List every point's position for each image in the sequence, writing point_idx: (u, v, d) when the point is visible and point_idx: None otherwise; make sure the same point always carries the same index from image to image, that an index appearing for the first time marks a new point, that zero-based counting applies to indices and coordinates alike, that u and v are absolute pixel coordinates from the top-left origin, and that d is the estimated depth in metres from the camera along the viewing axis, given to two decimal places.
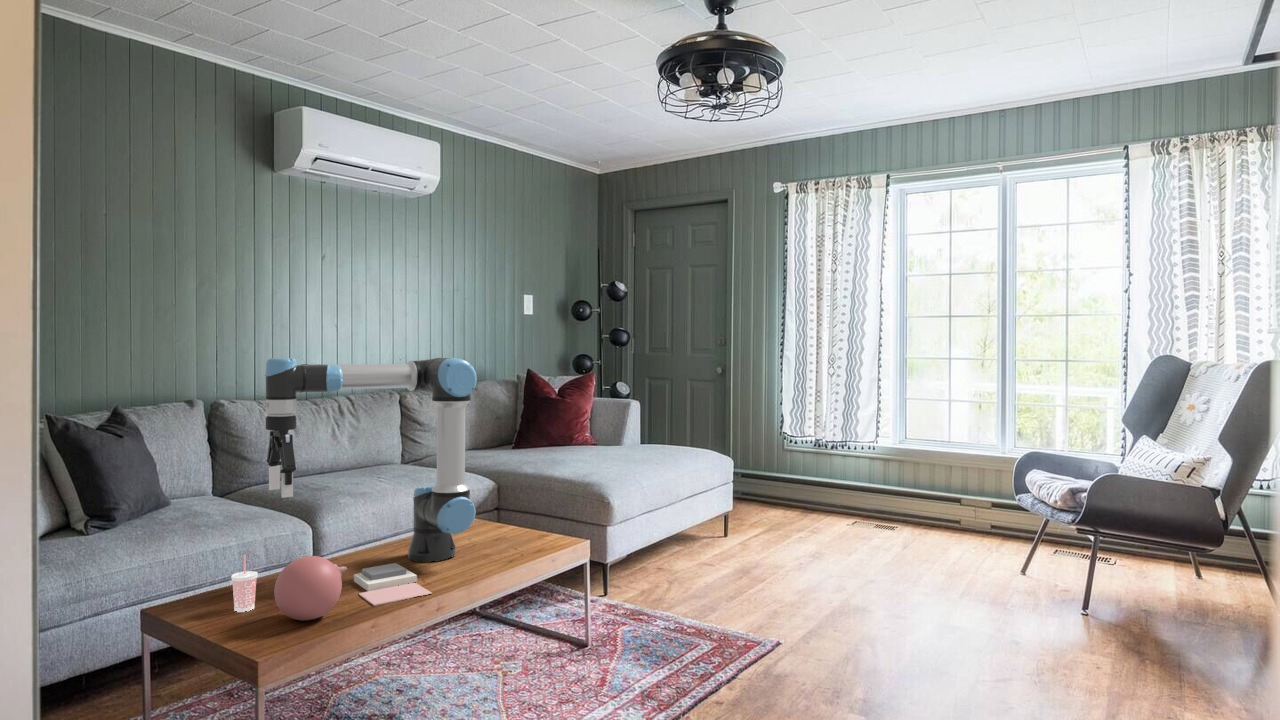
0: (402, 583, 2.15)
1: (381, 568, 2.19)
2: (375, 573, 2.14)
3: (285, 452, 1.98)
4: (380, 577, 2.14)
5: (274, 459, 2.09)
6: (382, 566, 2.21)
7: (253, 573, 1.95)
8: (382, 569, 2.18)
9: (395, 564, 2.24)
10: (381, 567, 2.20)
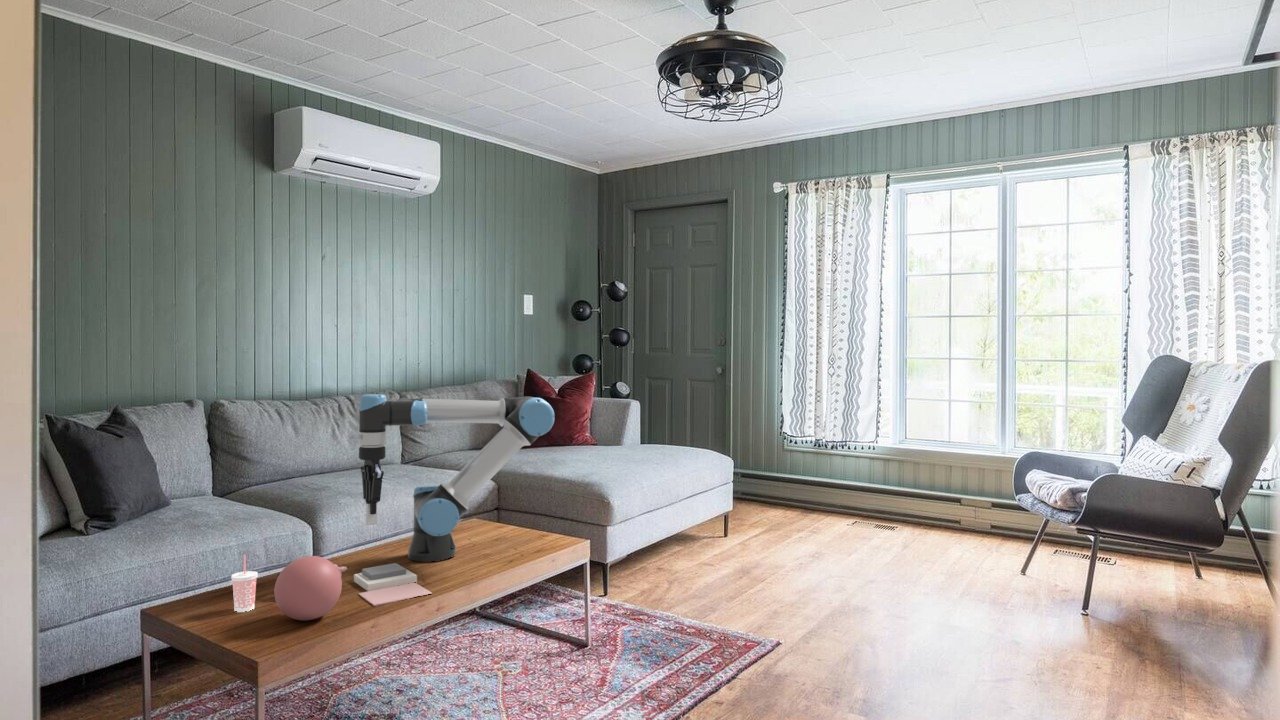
0: (402, 583, 2.15)
1: (381, 568, 2.19)
2: (375, 573, 2.14)
3: (374, 487, 2.22)
4: (380, 577, 2.14)
5: None
6: (382, 566, 2.21)
7: (253, 573, 1.95)
8: (382, 569, 2.18)
9: (395, 564, 2.24)
10: (381, 567, 2.20)
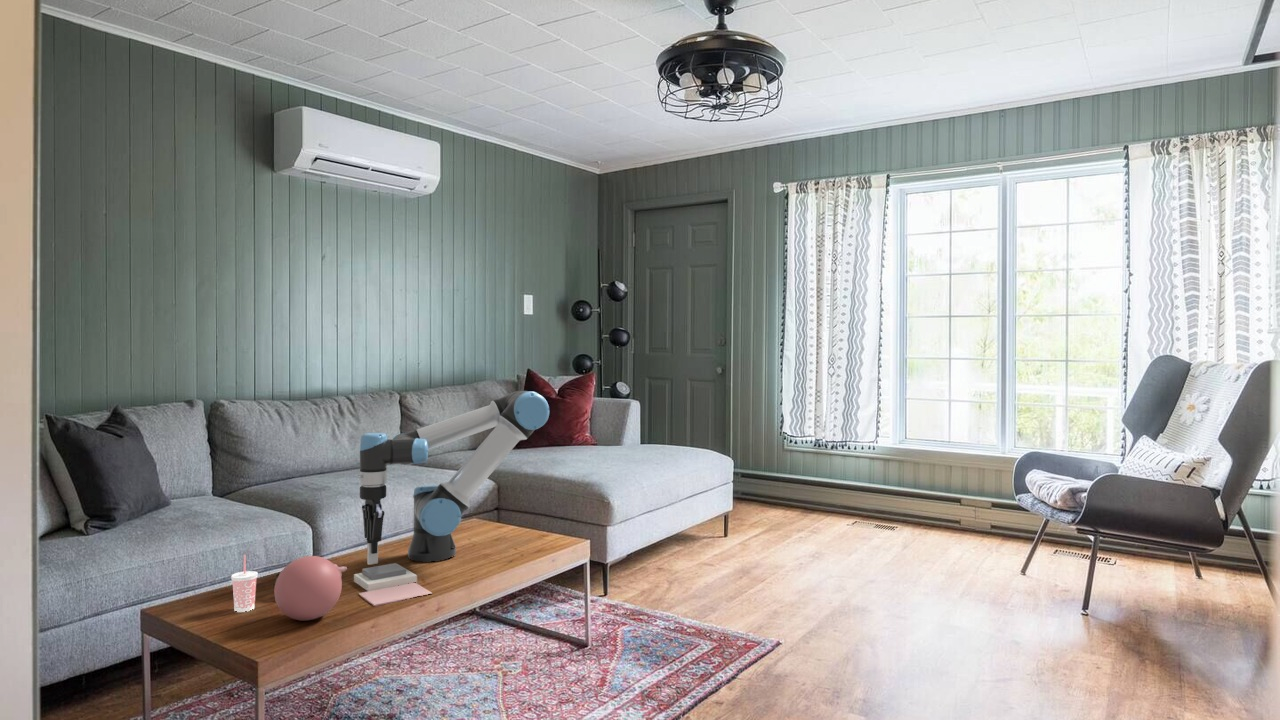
0: (402, 583, 2.15)
1: (381, 568, 2.19)
2: (375, 573, 2.14)
3: (375, 527, 2.22)
4: (380, 577, 2.14)
5: None
6: (382, 566, 2.21)
7: (253, 573, 1.95)
8: (382, 569, 2.18)
9: (395, 564, 2.24)
10: (381, 567, 2.20)
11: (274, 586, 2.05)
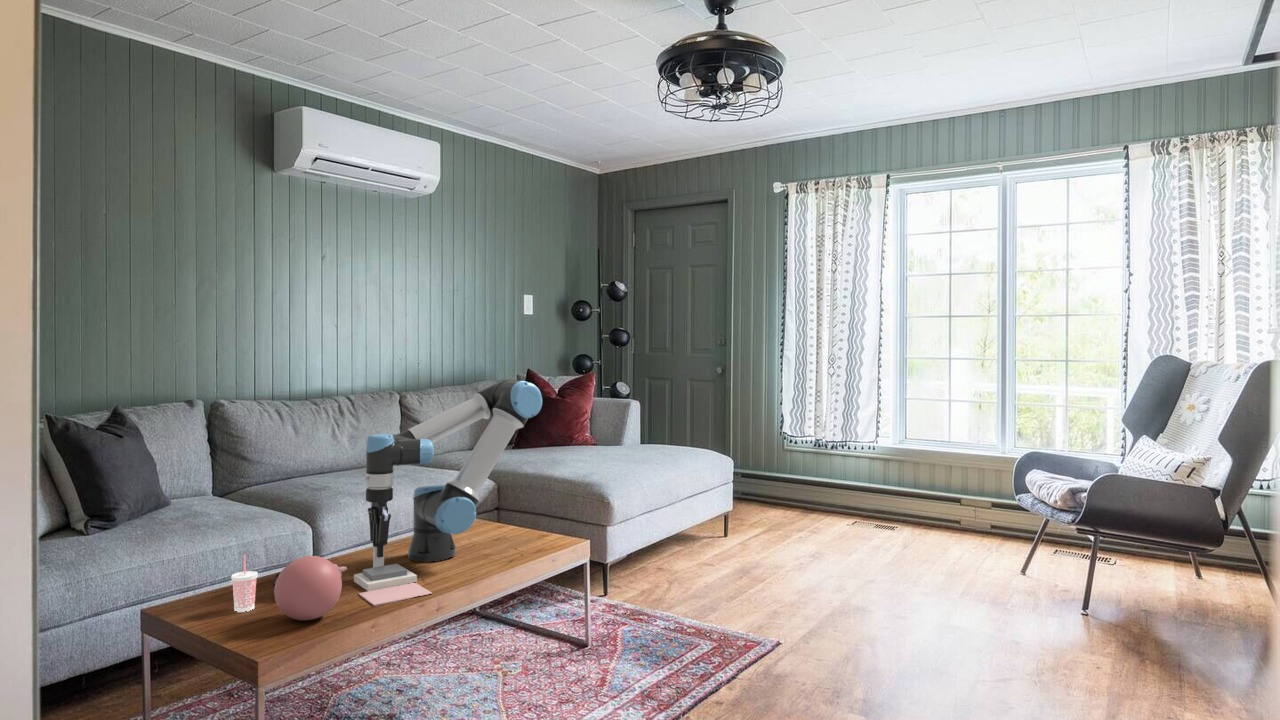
0: (402, 583, 2.15)
1: (382, 569, 2.18)
2: (376, 574, 2.13)
3: (381, 530, 2.17)
4: (380, 578, 2.13)
5: None
6: (383, 567, 2.21)
7: (253, 573, 1.95)
8: (382, 570, 2.17)
9: (396, 565, 2.23)
10: (382, 568, 2.19)
11: None
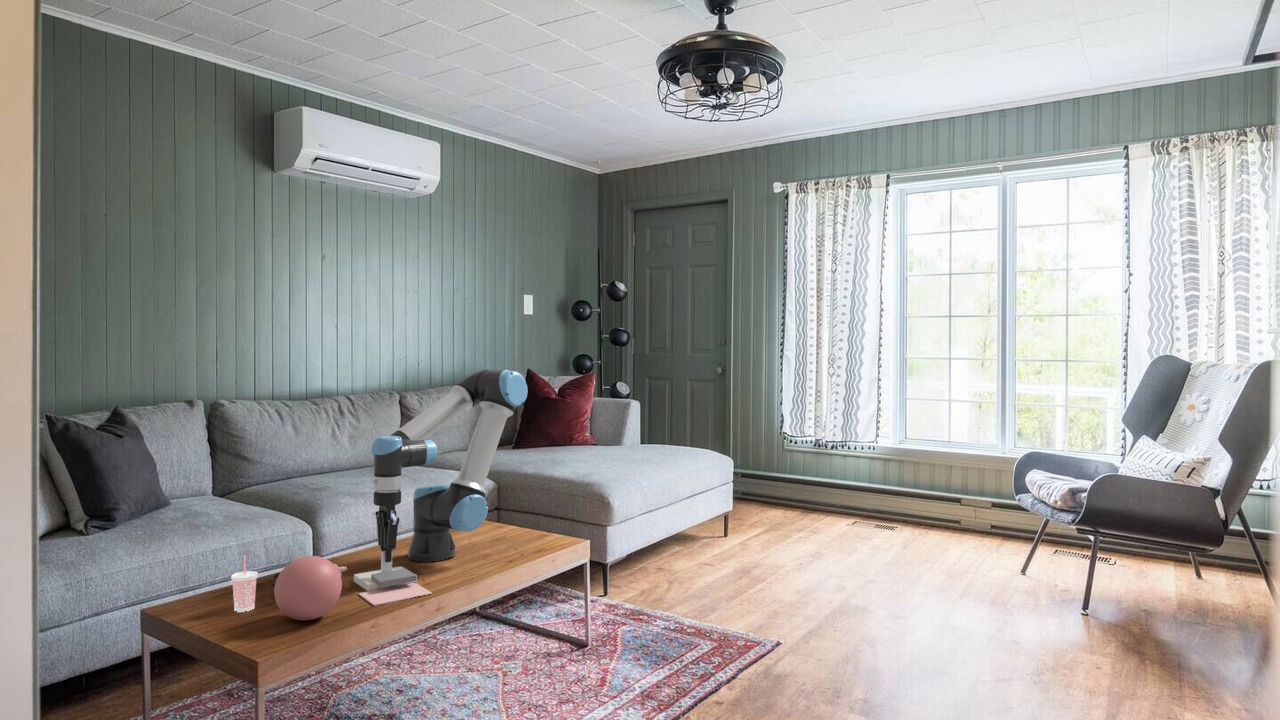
0: (402, 583, 2.15)
1: (391, 574, 2.13)
2: (384, 580, 2.08)
3: (389, 534, 2.12)
4: (389, 584, 2.08)
5: None
6: (392, 572, 2.16)
7: (253, 573, 1.95)
8: (391, 575, 2.12)
9: (405, 570, 2.18)
10: (390, 573, 2.14)
11: (271, 587, 2.04)
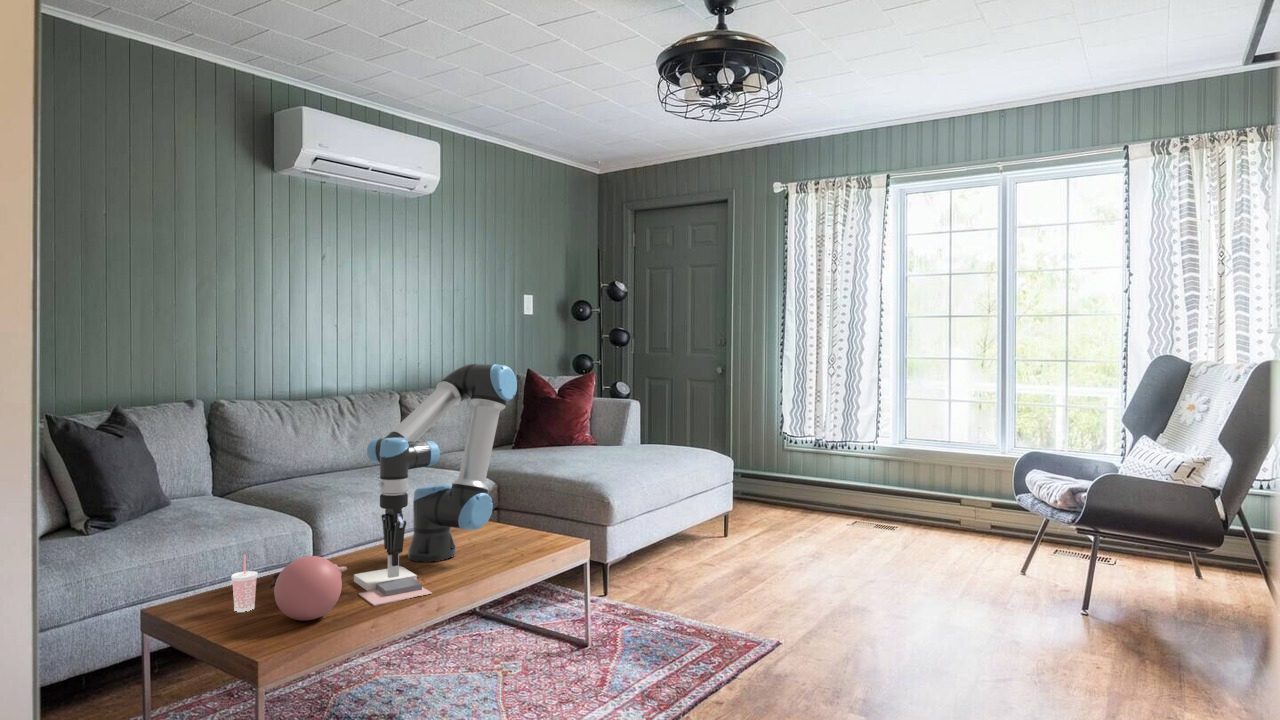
0: None
1: (396, 583, 2.10)
2: (390, 589, 2.05)
3: (396, 538, 2.09)
4: (395, 593, 2.05)
5: None
6: (397, 581, 2.13)
7: (253, 573, 1.95)
8: (396, 584, 2.09)
9: (410, 579, 2.15)
10: (396, 582, 2.11)
11: None
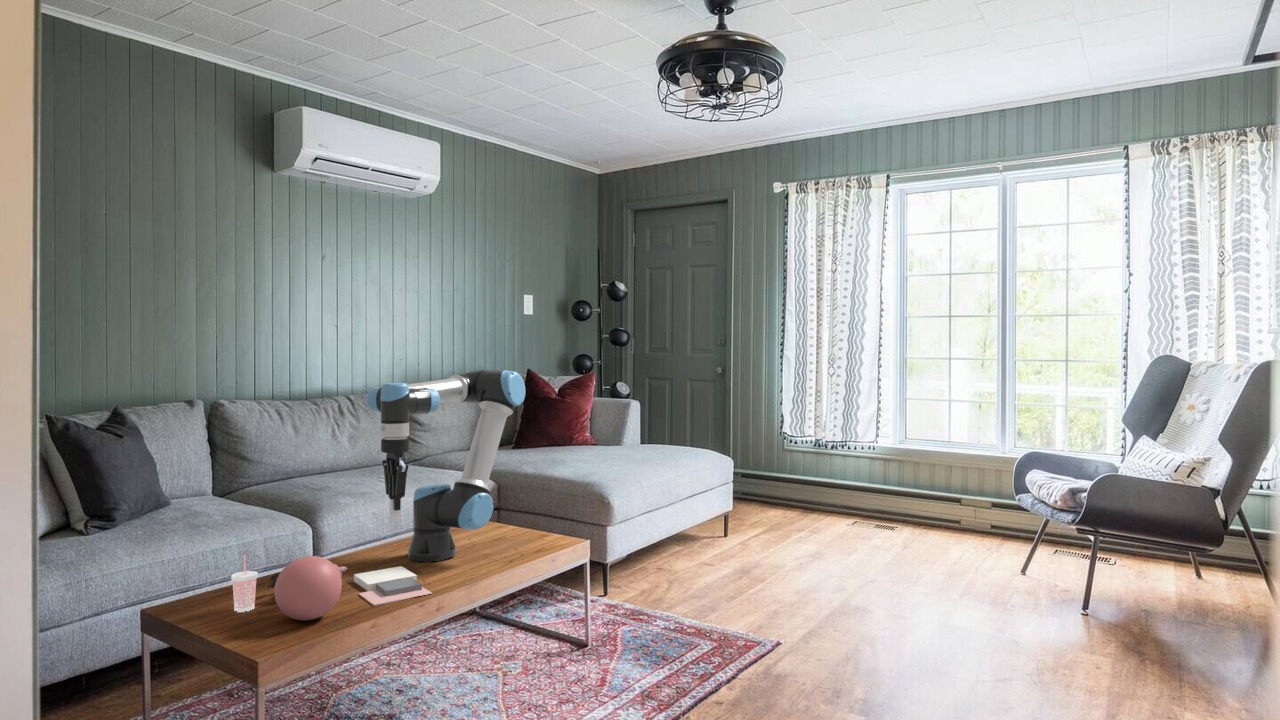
0: None
1: (396, 583, 2.10)
2: (390, 589, 2.05)
3: (398, 481, 2.08)
4: (395, 593, 2.05)
5: None
6: (397, 581, 2.13)
7: (253, 573, 1.95)
8: (396, 584, 2.09)
9: (410, 579, 2.15)
10: (396, 582, 2.11)
11: None
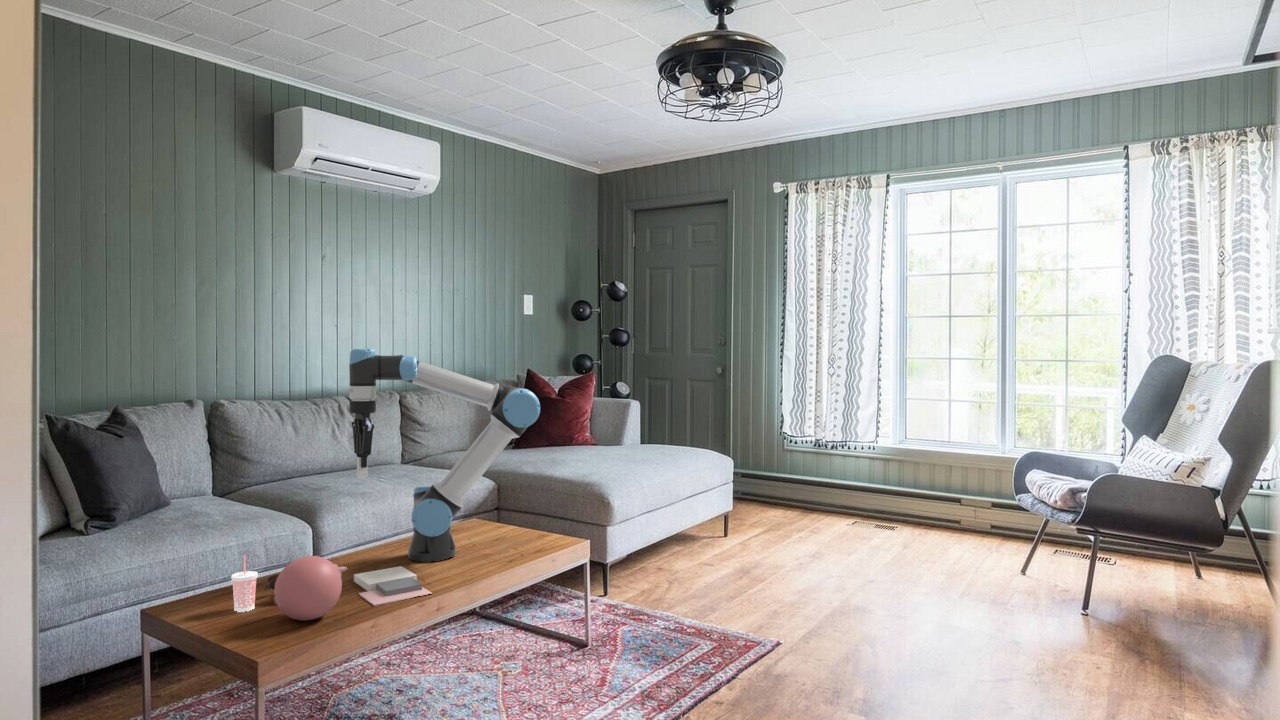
0: None
1: (396, 583, 2.10)
2: (390, 589, 2.05)
3: (365, 440, 2.23)
4: (395, 593, 2.05)
5: None
6: (397, 581, 2.13)
7: (253, 573, 1.95)
8: (396, 584, 2.09)
9: (410, 579, 2.15)
10: (396, 582, 2.11)
11: (265, 590, 2.02)
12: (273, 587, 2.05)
